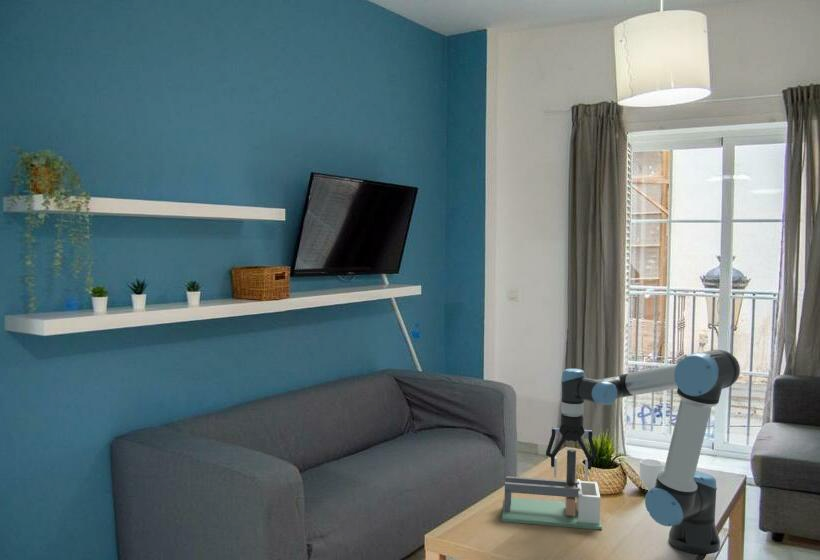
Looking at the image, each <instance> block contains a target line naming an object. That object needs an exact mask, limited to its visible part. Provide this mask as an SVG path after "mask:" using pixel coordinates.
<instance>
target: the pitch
mask: <svg viewBox="0 0 820 560" xmlns="http://www.w3.org/2000/svg"><path fill="white" fill-rule="evenodd" d="M512 494H526V495H535V496H536V495H537V496H550V497H574V498H575V499H576V502H577V501H578V500H579V505H578V512H577V511H576V509H575V516H570V515H566V507H565V501H560V500H559V501H557V500H545V499H534V498H520V497H512ZM600 494H601V493H600V488H599V484H598V482H597V481H588V480H587V481H586V480H581V478H580V479H579V478H577V479H576V480H575V487H566V480H564V479H561V480H560V479H549V478H548V479H547V478H539V477H538V478H536V477H534V478H533V477H522V476H521V477H520V476H510V475H508V476H505V482H504V501H503V508H502V514H501V515H502V516H501V522H504V523H505V522H506V523H516V524H517V523H518V524H527V525H528V524H529V525H541V526H550V527H562V526H563V527H564V528H575V529H576V528H578V529H588V530H598V529H602V530H603V525H602V522H601V521H602V520H601V495H600ZM576 502H575V504H576Z"/></svg>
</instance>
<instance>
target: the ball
mask: <svg viewBox="0 0 820 560" xmlns="http://www.w3.org/2000/svg"><path fill="white" fill-rule="evenodd" d="M575 503H576V504H575V509H576V511H577V512H578V505H579V500H578V501H577V500H576V501H575Z"/></svg>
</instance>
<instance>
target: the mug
mask: <svg viewBox="0 0 820 560" xmlns="http://www.w3.org/2000/svg"><path fill="white" fill-rule="evenodd" d="M664 469H665V464H664V463H663V462H662V461H660V460H657V459H653V458H646V459H645V458H644V459H641V460H640V461H639V477H640V478H641V480H642V481H643V482H644V484H645V486H646V487H647V488H648V490H650V489H652V488H654V487H655V483H656V479H657V475H658V473H660V472H662V471H664Z"/></svg>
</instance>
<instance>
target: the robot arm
mask: <svg viewBox="0 0 820 560" xmlns="http://www.w3.org/2000/svg"><path fill="white" fill-rule="evenodd" d="M740 373H741V366H740V363H739V361H738V359H737V358H736V357H735V356H734V355H733V354H732V353H731V352H728V351H727V350H724V349H723V350H722V349H712V350H708V351H703V352H700V351H699V352H693V353H689V354H688V355H686V356H684V357H682V358H681V359H680V360H679V361H678V362H677V363H675V364H671V365H665V366H661V367H655V368H650V369H644V370H640V371H634V372H630V373H623V374H618V375H614V376H611V377H603V378H599V379H595V378H589V377H586V375H585V371H584V370H583V369H580V368H565V369H564V370H563V371H562V375H561V377H562V378H561V401H560V402H561V406H560V408H561V409H560V412H561V415H560V425H559V427H558V428H557V427H556V428H555V427H553V426H552V427H551V435H550V439H549V442H548V445H547V448H546V450H545V455H546V457H550V466H551V468H553V478H557V463H558V461H557V459H558V458H557V454H559V451H560V450H561V448H562V446H563V445H564V444H565V442H566V441H568V442H570V441H572V442H578V444H579V445H580V448H581V449H582V451H583V453H584V455H585V457H586V458H585V459H584V460H585V461H584V463H585V464H584V481H586V480H587V481H588V480H589V479H588V477H589V476H588V475H589V471H590V470H591V469H592V461H593V460H597V459H598V456H597V452H596V447H595V445H594V440H593V431H592V429H584V415H583V414H584V409H585V408H584V407H585V403H584V402H585V401H587V402H592V403H595V404H599V405H605V406H610V405H612V404H613V403H614V402H615V401H616V399H622V398H627V397H632V396H633V397H634V396H639V395H643V394H649V393H656V392H662V391H669V390H675V389H677V390H676V393H677V396H678V397H679V398H680V401H679V405H678V410H677V415H676V419H675V422H674V426H673V431H672V436H671V439H670V442H669V443H670V444H669V448H668V452H667V456H666V461H665V464H664V466H665V469H664V471H662V472H660V473H658V475H657V479H656V483H655V487H654V488H652V489H650V490H649V491H647V493H646V494H645V498H644V504H645V508H646V511H647V512H648V513H649V516H650V517H651V518H652V520H653V521H654V522H656V523H657V524H659V525H661V526H664V527H670V530H669V532H668V542H669V543H670V545H671V546H673V547H674V548H676V549H677V550H678V549H679V551H680V550H681V551H683V552H686V553H690V554H698V555H710V554H715V553H717V552H719V551H720V549H721V540H720V536H719V532H718V530H717V527H716V507H717V506H716V505H717V504H716V503H717V502H716V501H717V490H718V488H717V479H716V478H715V477H714V476H713V475H711V474H709V473H707V472H703V471H699V470H697V468H698V463H699V459H700V454H701V452H702V447H703V443H704V440H705V435H706V431H707V426H708V423H709V419H710V415H711V411H712V407H715V406H716V405H718V404H719V402H720V397H721V395H722V391H723V389H726V388H729V387H731V386H733V385H734V384H735V383H736V382H737V381H738V379H739V376H740ZM558 433H560V434H561V437H560V439H559V441H558V443H557V444H556V446H555V447H554V449H553V450H552V448H553V445H554V442H555V440H556V435H558ZM584 434H585V436H586V438H588V442H589V447H590V451H591V453H590V452H589V451H588V448H587V446H586V444H585V443H584V441H583V439H582V436H583V435H584ZM551 451H552V452H551Z"/></svg>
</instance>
